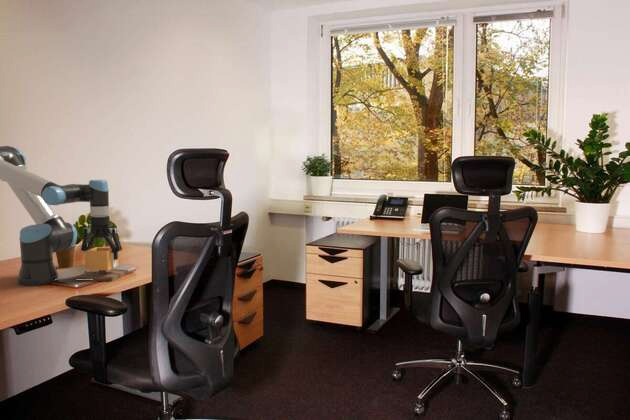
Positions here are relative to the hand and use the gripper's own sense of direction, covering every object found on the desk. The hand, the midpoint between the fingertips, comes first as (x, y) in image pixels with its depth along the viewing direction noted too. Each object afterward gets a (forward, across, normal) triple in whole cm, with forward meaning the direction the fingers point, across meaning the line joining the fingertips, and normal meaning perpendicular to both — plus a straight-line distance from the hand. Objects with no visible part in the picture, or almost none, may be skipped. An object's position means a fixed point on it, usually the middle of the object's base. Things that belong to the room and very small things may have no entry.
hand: (102, 267), depth 234 cm
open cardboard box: (0, 0, 0) cm, 0 cm away
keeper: (+4, 0, 0) cm, 4 cm away
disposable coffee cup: (+4, +27, -18) cm, 33 cm away
